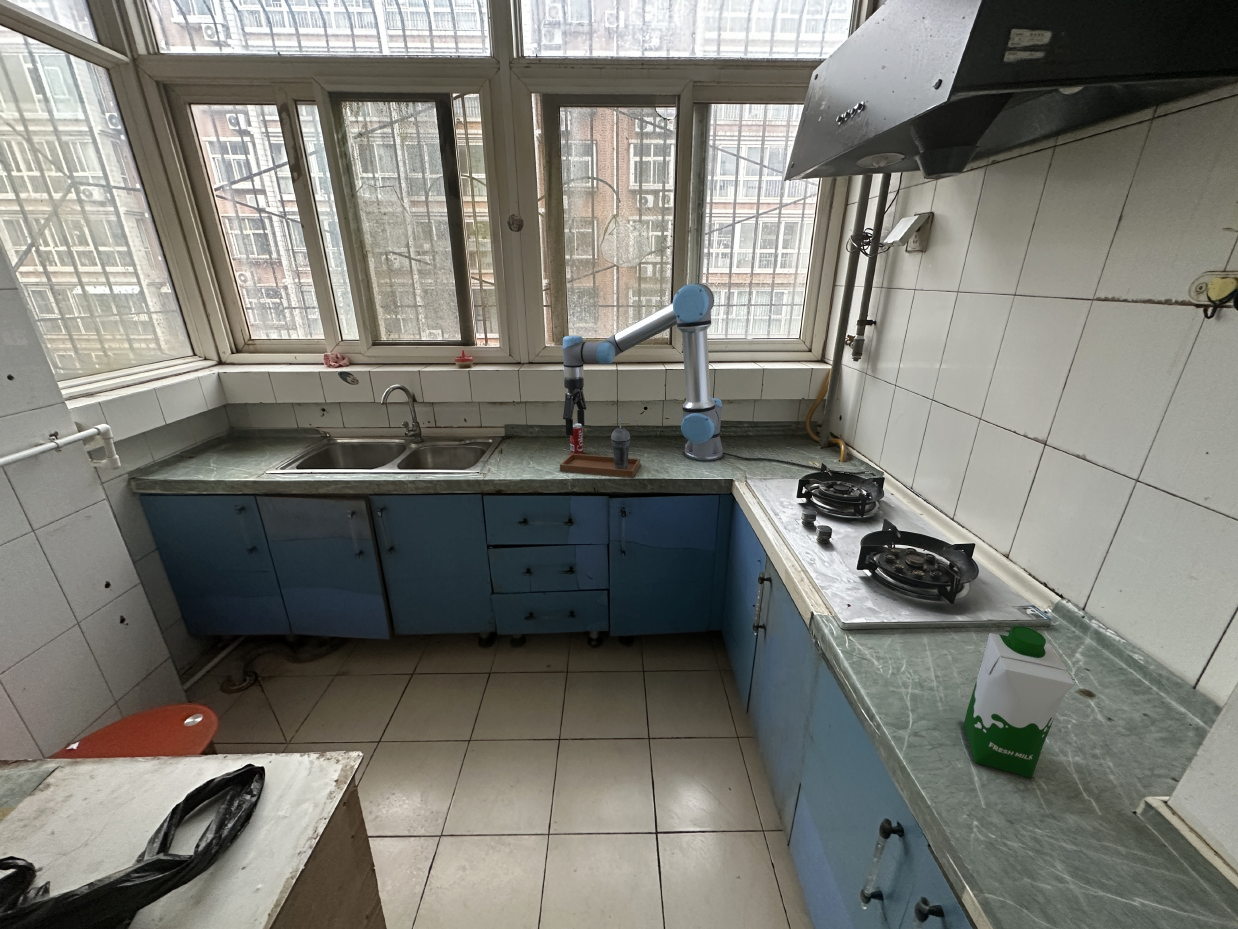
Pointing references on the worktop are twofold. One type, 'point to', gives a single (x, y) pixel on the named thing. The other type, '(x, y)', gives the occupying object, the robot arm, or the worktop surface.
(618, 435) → the beverage cup
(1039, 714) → the milk carton
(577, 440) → the soda can
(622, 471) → the tray
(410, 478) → the worktop surface
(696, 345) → the robot arm
